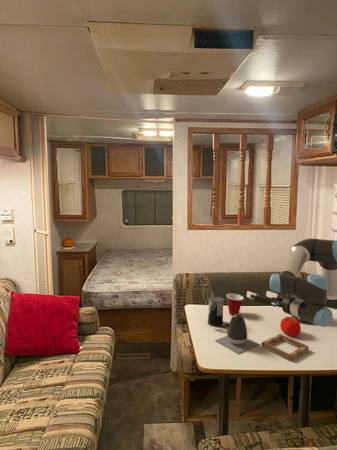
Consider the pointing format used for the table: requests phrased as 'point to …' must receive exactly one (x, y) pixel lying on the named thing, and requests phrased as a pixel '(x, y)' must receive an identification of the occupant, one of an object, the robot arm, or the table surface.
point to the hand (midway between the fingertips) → (257, 293)
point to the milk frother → (216, 312)
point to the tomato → (290, 326)
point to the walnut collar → (289, 357)
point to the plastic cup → (234, 303)
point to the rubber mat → (237, 348)
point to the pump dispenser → (237, 330)
